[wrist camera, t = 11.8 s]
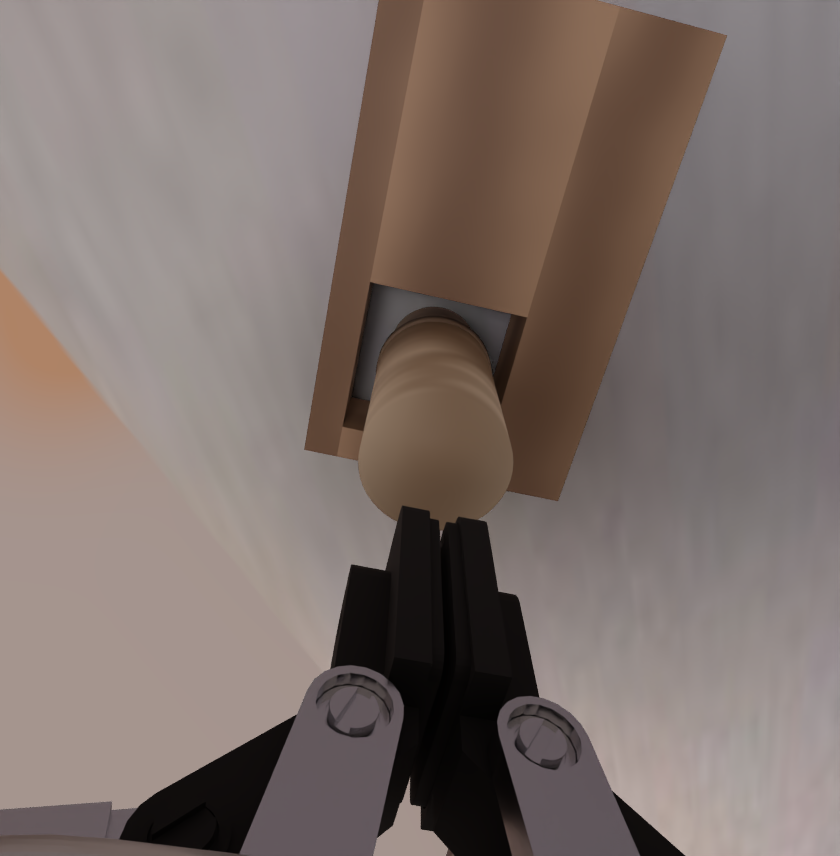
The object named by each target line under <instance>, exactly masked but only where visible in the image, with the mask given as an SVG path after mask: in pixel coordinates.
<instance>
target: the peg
mask: <svg viewBox="0 0 840 856" xmlns="http://www.w3.org/2000/svg"><path fill="white" fill-rule="evenodd" d="M358 468H359V474H360V478H361V481H362V485H363V487H364V489H365V491H366V493H367V495H368V496H369V498H370V499H371V501H372V502H373V503H374V504H375V505H376V506H377V507H378V508H379V509H380V510H381V511H382V512H383V513H384V514H386V515H387V516H389V517H390V518H392V519H393V520H395V521H398V517H399V513H400V510H401V507H402V505H403V506H408V507H413V508H418V509H423V510H429V511H430V518H431V519H436V520H439V528H440V530H444V527H445V524H446V522H452V523H455V522H456V520H457V518H458V517H464V518H470V519H475V520H478V519H479V518H481V517H483V516H484V515H485V514H487V513H488V512H489V511H490V510H491V509H492V508H493V507H494V506H495V505H496V504H497V503H498V502H499V501H500V499H501V498H502V497H503V495H504V493H505V492H506V490H507V488H508V485H509V483H510V480H511V476H512V472H513V452H512V447H511V443H510V439H509V435H508V432H507V428H506V424H505V421H504V417H503V413H502V409H501V406H500V402H499V398H498V394H497V391H496V387H495V383H494V380H493V376H492V370H491V363H490V359H489V355H488V353H487V350H486V348H485V346H484V344H483V342H482V340H481V339H480V338H479V336H478V335H477V334H476V333H475V332H474V331H473V330H472V329H471V328H470V326H469V325H468V324H467V322H466V321H465V320H464V319H463V318H462V317H461V316H459V315H458V314H456V313H455V312H453V311H451V310H448V309H445V308H440V307H426V308H422V309H419V310H416V311H414V312H412V313H410V314H409V315H407V316H406V317H405V318H404V319H403V320H402V321H401V322H400V323H399V324H398V326H397V327H396V329H395V331H394V332H393V333H392V334H391V335H390V336H389V337H388V339H387V340H386V341H385V343H384V345H383V347H382V349H381V351H380V354H379V358H378V362H377V367H376V377H375V382H374V386H373V391H372V395H371V400H370V404H369V409H368V413H367V418H366V423H365V427H364V432H363V436H362V441H361V445H360V450H359V457H358Z"/></svg>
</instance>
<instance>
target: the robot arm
mask: <svg viewBox="0 0 840 856" xmlns="http://www.w3.org/2000/svg"><path fill="white" fill-rule="evenodd" d="M409 779H410V803H411V805H416V806H421V829H422V830H429V831H434V833H435V834H436V835H437V836H438V837H439V838H440V840H441V841H442V842H443V843H444V844H445V845H446V846H447V848H448V851H447V854H446V856H685V855H684V854H683V853H681V852H680V851H679V850H678V849H677V848H676V847H675V846H674V845H672V844H671V843H670V842H669V841H668V840H667V839H666V838H665V837H663V836H662V835H661V834H660V833H659V832H658V831H657V830H656V829H654V828H653V827H652V826H651V825H650V824H649V823H648V822H647V821H645V820H644V819H643V818H642V817H641V816H640V815H639V814H638V813H636V812H635V811H634V810H633V809H632V808H631V807H630V806H629V805H627V804H626V803H625V802H624V801H623V800H622V799H621V798H620V797H618V796H617V795H616V794H615V793H614V792H613V791H612V790H611V788H610V785H609V783H608V781H607V778H606V776H605V774H604V771H603V769H602V767H601V764H600V762H599V760H598V757H597V755H596V753H595V751H594V748H593V746H592V744H591V741H590V739H589V737H588V735H587V733H586V732H585V730H584V728H583V727H582V725H581V724H580V723H579V722H578V721H577V719H576V718H575V717H574V716H573V715H572V714H571V713H570V712H568V711H567V710H565V709H564V708H562V707H561V706H559V705H558V704H556V703H553V702H551V701H549V700H546V699H544V698H539V694H538V689H537V684H536V679H535V674H534V670H533V665H532V660H531V655H530V650H529V645H528V641H527V636H526V631H525V626H524V621H523V616H522V612H521V607H520V602H519V599H518V597H517V596H516V595H513V594H508V593H502V592H498V587H497V581H496V575H495V569H494V563H493V556H492V550H491V544H490V538H489V532H488V526H487V522H485V521H480V520H475V519H470V518H464V517H458V518H457V520H456V522H455V523H452V522H446V524H445V527H444V530H443V533H442V537H441V540H440V528H439V520H436V519H431V518H430V511H429V510H423V509H418V508H413V507H408V506H403V505H402V507H401V510H400V513H399V517H398V521H397V525H396V530H395V534H394V538H393V542H392V546H391V550H390V554H389V558H388V562H387V566H386V570H385V571H384V570H379V569H373V568H368V567H363V566H357V565H351V568H350V572H349V577H348V581H347V586H346V590H345V595H344V600H343V604H342V609H341V614H340V619H339V624H338V629H337V634H336V640H335V645H334V651H333V657H332V662H331V668H330V669H329V670H327V671H324V672H323V673H322V674H320V675H319V676H318V677H317V678H315V679H314V681H313V682H312V684H311V685H310V687H309V688H308V690H307V692H306V694H305V697H304V699H303V702H302V704H301V707H300V709H299V711H298V714H297V715H295V716H293V717H292V718H290V719H288V720H286V721H284V722H282V723H281V724H279V725H277V726H275V727H274V728H272V729H270V730H268V731H267V732H265V733H263V734H261V735H259V736H258V737H256V738H254V739H252V740H250V741H248V742H247V743H245V744H243V745H241V746H240V747H238V748H236V749H234V750H233V751H231V752H229V753H227V754H225V755H223V756H222V757H220V758H218V759H216V760H214V761H213V762H211V763H209V764H207V765H206V766H204V767H202V768H200V769H199V770H197V771H195V772H193V773H191V774H189V775H188V776H186V777H184V778H182V779H181V780H179V781H177V782H175V783H173V784H172V785H170V786H168V787H166V788H164V789H163V790H161V791H159V792H157V793H156V794H154V795H153V796H152V797H150V798H149V799H148V800H146V801H145V802H143V803H142V804H141V805H140V806H139V807H138V808H132V809H121V810H120V809H119V810H112V802H100V803H86V804H71V805H58V806H44V807H32V808H31V807H30V808H18V809H3V810H0V856H373V853H374V849H375V845H376V840H377V838H378V837H379V836H380V835H381V834H383V833H384V832H385V831H386V830H388V829H389V828H390V827H391V826H393V823H394V820H395V817H396V813H397V811H398V807H399V804H400V803H401V802H402V800H403V797H404V794H405V791H406V788H407V785H408V782H409Z"/></svg>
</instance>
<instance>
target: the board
mask: <svg viewBox="0 0 840 856" xmlns="http://www.w3.org/2000/svg"><path fill="white" fill-rule="evenodd" d="M726 37H727V35H724V34H720V33H716V32H713V31H709V30H705V29H701V28H698V27H694V26H690V25H687V24H683V23H679V22H675V21H672V20H668V19H664V18H661V17H657V16H653V15H649V14H646V13H642V12H638V11H635V10H631V9H627V8H624V7H620V6H616V5H612V4H609V3H605V2H601V1H598V0H379V3H378V9H377V15H376V21H375V27H374V33H373V39H372V45H371V51H370V57H369V63H368V69H367V75H366V81H365V87H364V93H363V99H362V105H361V111H360V117H359V123H358V129H357V135H356V141H355V147H354V153H353V159H352V165H351V171H350V177H349V183H348V189H347V195H346V202H345V208H344V214H343V220H342V226H341V232H340V238H339V244H338V250H337V256H336V262H335V268H334V274H333V280H332V286H331V292H330V298H329V304H328V310H327V316H326V322H325V328H324V334H323V340H322V346H321V352H320V358H319V364H318V370H317V376H316V382H315V388H314V394H313V400H312V406H311V412H310V418H309V424H308V431H307V437H306V443H305V449H304V450H309V451H314V452H318V453H323V454H328V455H333V456H338V457H343V458H348V459H353V460H358V457H359V450H360V445H361V441H362V436H363V432H364V427H365V423H366V418H367V413H368V409H369V404H370V401H367V400H362V399H357V398H353V397H351V396H352V391H353V386H354V381H355V376H356V371H357V365H358V360H359V355H360V350H361V345H362V339H363V334H364V329H365V324H366V319H367V313H368V308H369V303H370V298H371V293H372V288H373V283H377V284H381V285H386V286H390V287H395V288H399V289H403V290H408V291H412V292H417V293H421V294H426V295H430V296H434V297H439V298H443V299H448V300H452V301H457V302H461V303H465V304H470V305H474V306H479V307H483V308H488V309H492V310H496V311H501V312H505V313H510V314H511V318H510V321H509V325H508V328H507V332H506V335H505V339H504V342H503V346H502V349H501V353H500V356H499V360H498V363H497V367H496V370H495V373H494V377H493V380H494V383H495V387H496V391H497V394H498V398H499V402H500V406H501V409H502V413H503V417H504V421H505V424H506V428H507V432H508V435H509V439H510V443H511V447H512V452H513V472H512V476H511V480H510V483H509V485H508V488H507V490H506V491H511V492H515V493H520V494H525V495H530V496H535V497H540V498H545V499H550V500H555V501H558V499H559V497H560V494H561V491H562V488H563V486H564V483H565V480H566V477H567V475H568V472H569V469H570V466H571V464H572V461H573V458H574V455H575V453H576V450H577V447H578V444H579V442H580V439H581V436H582V433H583V431H584V428H585V425H586V422H587V420H588V417H589V414H590V411H591V409H592V406H593V403H594V400H595V398H596V395H597V392H598V389H599V387H600V384H601V381H602V378H603V376H604V373H605V370H606V367H607V365H608V362H609V359H610V356H611V354H612V351H613V348H614V345H615V343H616V340H617V337H618V334H619V332H620V329H621V326H622V323H623V321H624V318H625V315H626V312H627V310H628V307H629V304H630V301H631V299H632V296H633V293H634V290H635V288H636V285H637V282H638V279H639V277H640V274H641V271H642V268H643V266H644V263H645V260H646V257H647V255H648V252H649V249H650V246H651V244H652V241H653V238H654V235H655V233H656V230H657V227H658V224H659V222H660V219H661V216H662V213H663V211H664V208H665V205H666V202H667V200H668V197H669V194H670V191H671V189H672V186H673V183H674V180H675V178H676V175H677V172H678V169H679V167H680V164H681V161H682V158H683V156H684V153H685V150H686V147H687V145H688V142H689V139H690V136H691V134H692V131H693V128H694V125H695V123H696V120H697V117H698V114H699V112H700V109H701V106H702V103H703V101H704V98H705V95H706V92H707V90H708V87H709V84H710V81H711V79H712V76H713V73H714V70H715V68H716V65H717V62H718V59H719V57H720V54H721V51H722V48H723V46H724V43H725V40H726Z"/></svg>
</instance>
